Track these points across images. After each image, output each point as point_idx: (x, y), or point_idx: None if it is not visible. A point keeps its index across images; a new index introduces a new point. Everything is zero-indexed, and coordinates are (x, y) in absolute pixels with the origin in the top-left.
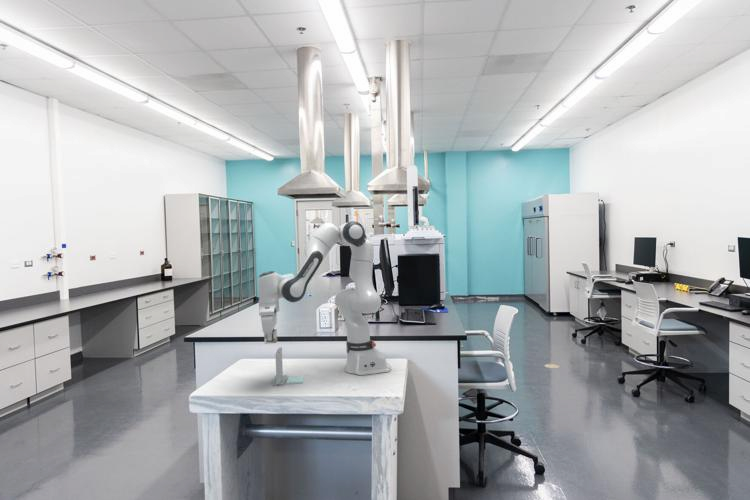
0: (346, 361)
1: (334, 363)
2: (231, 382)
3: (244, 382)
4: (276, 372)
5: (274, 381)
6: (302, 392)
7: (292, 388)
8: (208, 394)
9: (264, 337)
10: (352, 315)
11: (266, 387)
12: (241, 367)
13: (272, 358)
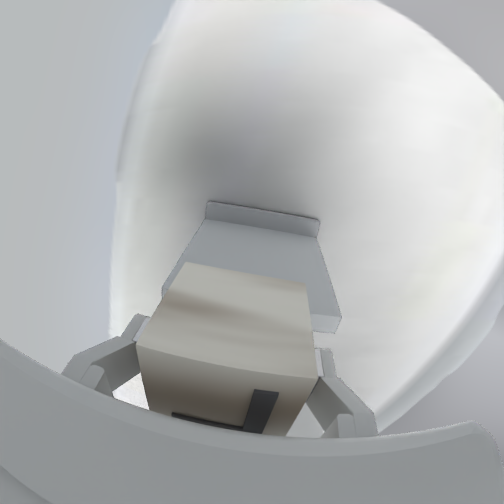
0: (295, 419)
1: (367, 384)
2: (323, 38)
3: (304, 87)
4: (192, 239)
5: (239, 212)
6: (133, 287)
7: (171, 265)
8: None
9: (161, 302)
10: None
11: (204, 176)
12: (488, 113)
13: None
